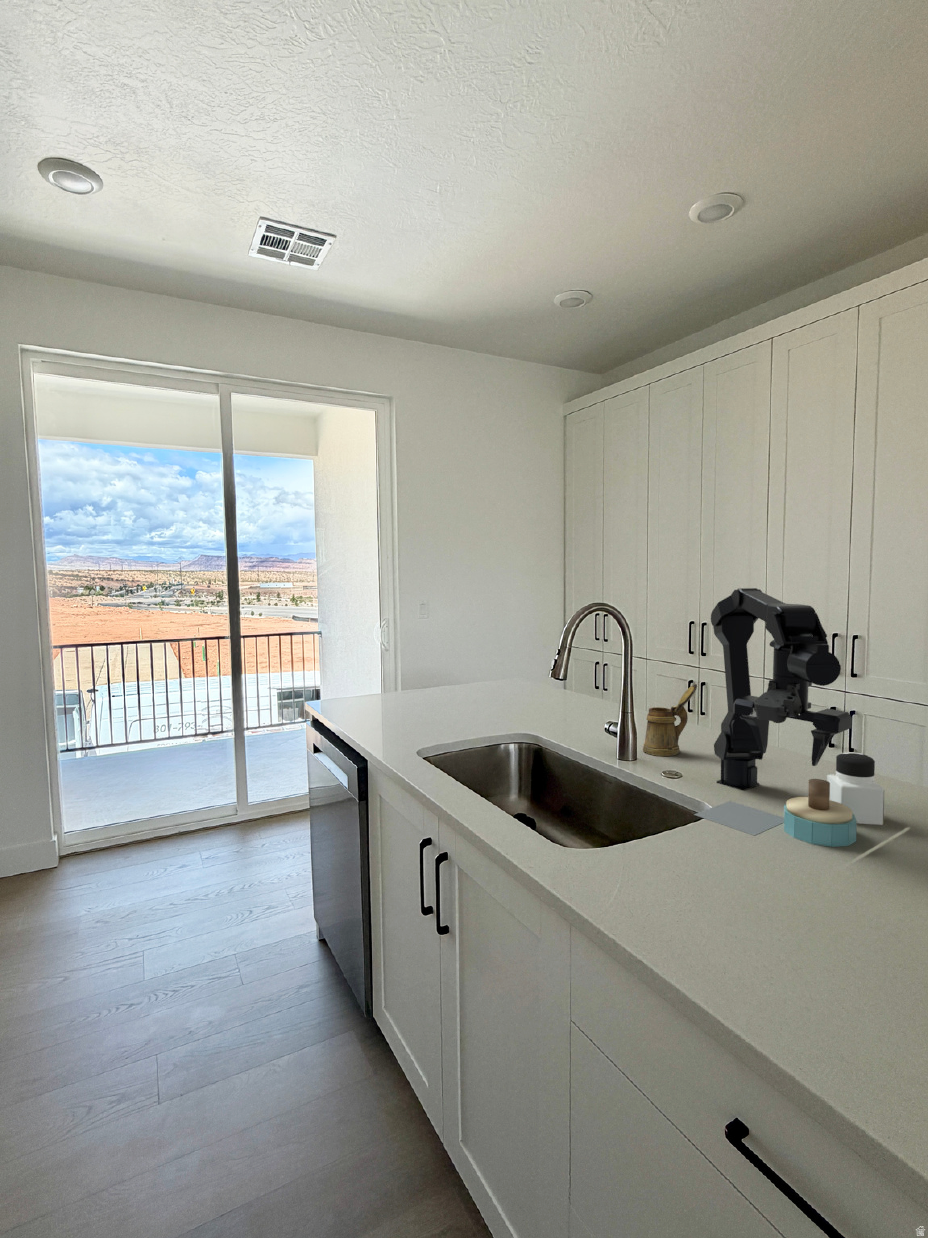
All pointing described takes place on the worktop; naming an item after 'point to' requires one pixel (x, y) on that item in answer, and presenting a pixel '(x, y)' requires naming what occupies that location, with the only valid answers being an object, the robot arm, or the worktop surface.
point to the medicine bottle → (857, 787)
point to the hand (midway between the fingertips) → (788, 759)
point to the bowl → (820, 831)
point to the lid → (819, 805)
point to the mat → (741, 817)
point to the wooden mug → (666, 727)
